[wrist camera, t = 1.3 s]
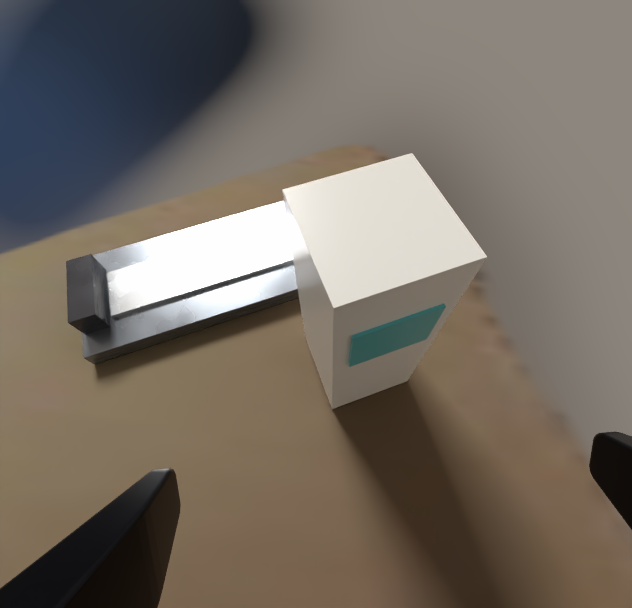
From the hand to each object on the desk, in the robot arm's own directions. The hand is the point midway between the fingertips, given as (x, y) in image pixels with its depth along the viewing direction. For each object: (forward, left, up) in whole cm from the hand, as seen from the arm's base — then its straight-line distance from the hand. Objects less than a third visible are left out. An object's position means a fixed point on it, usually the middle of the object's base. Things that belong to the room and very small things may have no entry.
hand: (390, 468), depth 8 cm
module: (+7, -3, -14) cm, 16 cm away
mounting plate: (+16, +2, -14) cm, 22 cm away
